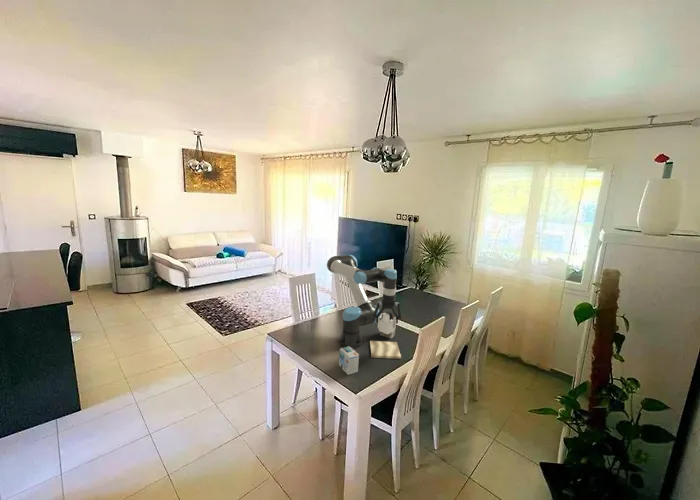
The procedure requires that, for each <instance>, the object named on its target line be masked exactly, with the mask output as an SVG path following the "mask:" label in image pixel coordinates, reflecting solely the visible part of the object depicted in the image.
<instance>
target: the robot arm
mask: <svg viewBox="0 0 700 500" xmlns="http://www.w3.org/2000/svg"><path fill="white" fill-rule="evenodd" d="M358 265H359V264H358V260H357V258H356V257H355V256H354V255H352V254H345V255H334V256H331V257H330V258H328V260H327V262H326V267H327V270H328V271H330V272H331V273H333V274H339V275H341V276H344V277H345V279H346V281H347V284H348V287H349V289H350V291H351V294H352V296H353V299H354V301H355V304H356V306H348V307H347V308H345V309H344V311H343V314H342V328H341V329H342V330H341V331H342V332H341V334H340V335H339V338H338V339H339V340H338V343H339V345H340V346H341V347H342V348H344V347H348V346H350V347H351V348H352V349H356V348H357V349H358V348H359V347H361V346H362V344H363V339H362V335H361V327H364V326H368V325H372V324H375V323H376V324H377V325H376V326H377V329H379V321H380V320H381V316H382V314H383V313H384V310H385V309H386V310H387V309H388V310H391V311H392V313H393V314H394V315H395V317H396V318H395V319H394V321H395V322H394V329H395V330H396V329H397V328H396V327H397V324H398V323H399V319H402V314H401V311H400V310H401V309H400V303H399V302H398V301H397V302H396V289H397V279H398V278H397V277H398V275H397V273H398V272H397V270H396V269H394V268H385V269H382V268H380V267H373V268H371V269H369V270H368V269H367V270H363V269H360V268H358ZM375 282H381V283H383V288H382V300H381V301H377V302H376V304H377V305H375V304H373V302H372V301H371V300H369V298H368V296H367V294H366V292H365V290H364V289H365V288H363V287H364V286H363V285H364V284H369V283H375ZM381 305H382V306H381ZM380 306H381V308H380ZM394 307H396V310H397V312H396V310H395V309H394Z"/></svg>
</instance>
